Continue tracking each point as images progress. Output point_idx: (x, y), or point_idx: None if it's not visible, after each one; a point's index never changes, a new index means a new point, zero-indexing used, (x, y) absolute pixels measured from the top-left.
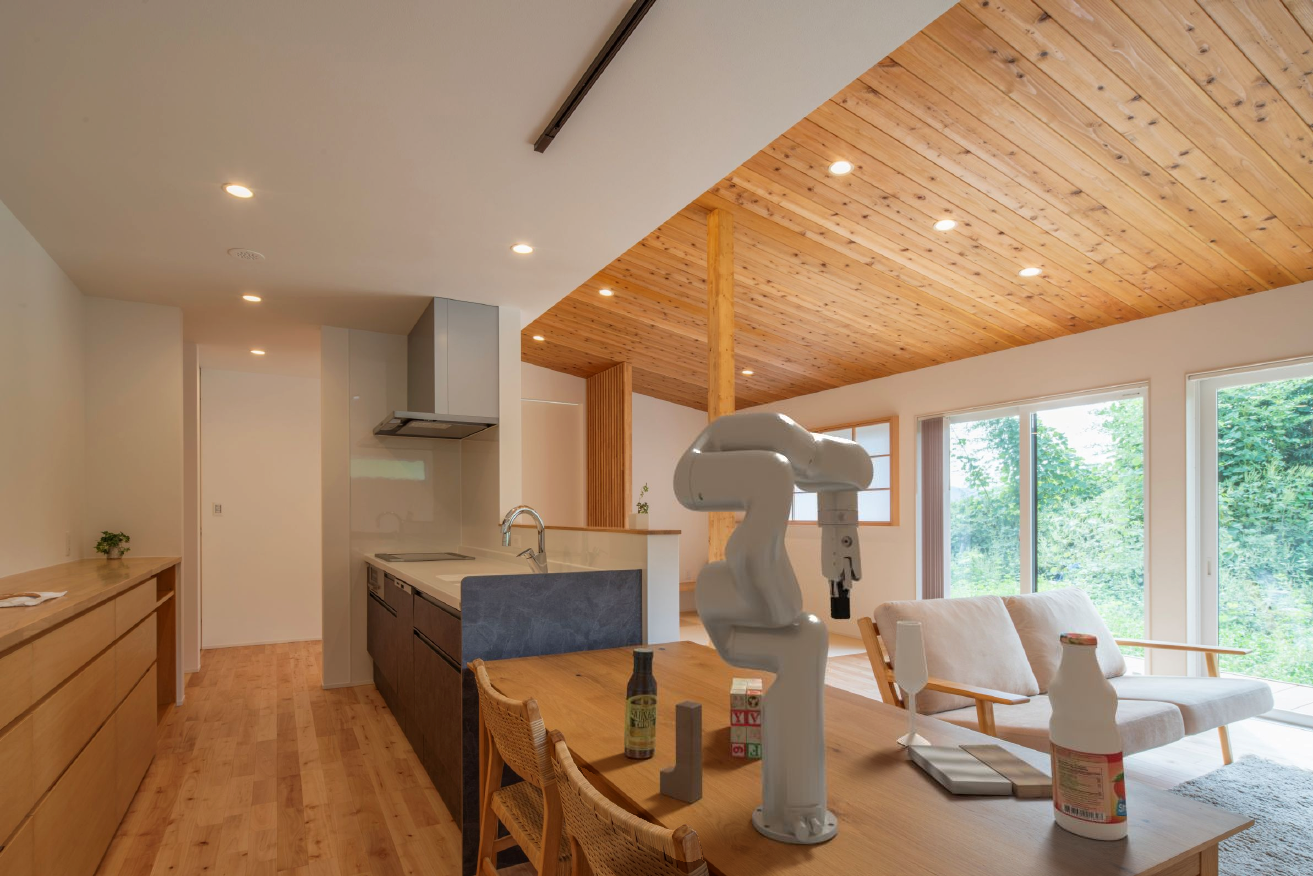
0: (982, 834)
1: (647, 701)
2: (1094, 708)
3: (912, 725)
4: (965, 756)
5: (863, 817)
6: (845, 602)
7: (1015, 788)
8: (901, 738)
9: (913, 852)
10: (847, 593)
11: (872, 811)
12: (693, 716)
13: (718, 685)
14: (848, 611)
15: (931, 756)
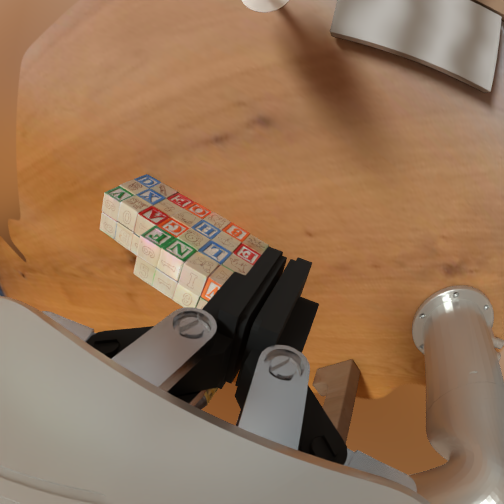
0: None
1: (210, 394)
2: None
3: None
4: None
5: (479, 247)
6: (301, 349)
7: (500, 15)
8: (255, 2)
9: None
10: (315, 404)
11: (474, 226)
12: (345, 438)
13: (28, 160)
14: (301, 288)
15: (392, 33)
